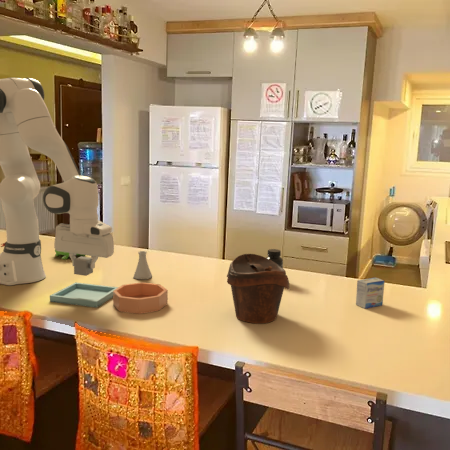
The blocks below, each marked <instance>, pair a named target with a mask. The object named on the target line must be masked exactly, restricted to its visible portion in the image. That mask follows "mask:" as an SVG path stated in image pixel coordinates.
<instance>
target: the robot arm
mask: <svg viewBox="0 0 450 450" xmlns="http://www.w3.org/2000/svg"><path fill="white" fill-rule="evenodd" d="M29 148H30V149H31V150H33V151H36V152H37V153H40V154H43V155H45V156H46V157H48V158H49V159H51V160H52V161H53V164H55V166H56V167H57V170H58V172H59V175H60V176H61V179H62V181H63V182H61V183H57V184H53V185H50V186H47V188H46V189H45V190H44V191H43V193H42V194H43V195H42V202H43V206H44V208H45V209H46V210H47V211H48V212H49V213H51V214H53V215H55V214H56V215H61V214H69V224H68V223H62V222H61V223H59V224H57V225H56V227H55V236H54V243H55V244H54V250H55V249H56V251H60V252H68V253H69V258H70V259H71V262H72V267H74V259H76V258H77V255H76V254H82V255H84V256H90V258H91V259H93V260H92V262H90V263H88V268H90V269H93V270H94V269H95V267H96V262H97V260H98V259H99V258H104V259H107V258H110V257H112V256H113V255H114V253H115V247H114V246H115V242H114V236H113V234H111V233H112V232H113V227H112V226H111V225H109V224H108V223H105V222H103V221H101V220H99V215H98V207H99V189H98V183H97V181H96V180H95V179H94V178H93V177H90V176H88V175H87V176H86V175H82V174H81V173H80V170H79V168H78V165H77V163H76V162H75V159H74V157H73V155H72V153H71V151H70V149H69V147H68V145H67V144H66V142H65V141H64V140H63V138H62V137H61V135H60V134H59V132H58V130H57V127H56V126H55V123H54V121H53V119H52V116H51V114H50V112H49V108H48V107H47V104H46V103H45V91H44V88H43V86H42V84H41V82H39V80H37V79H35V78H32V77H31V78H30V77H24V78H23V77H7V78H0V168H1V170H2V172H3V173H2V174H3V175H4V178H2V180H1V182H0V204H1V208H2V212H3V216H4V220H5V231H6V241H5V242H2V243H0V247H1V248H3V250H2V251H1V253H0V284H1V285H4V286H5V285H6V286H14V285H21V284H29V283H35V282H39V281H41V280H44V279H45V278H46V277H47V275H46V273H45V270H44V266H43V260H42V255H41V254H42V241H41V239H40V225H39V217H38V216H37V215H38V214H37V212H36V211H37V210H36V206H35V199H36V198H37V197H38V195H39V193H40V192H41V182H40V180H39V178H38V177H39V176H38V174H37V171H36V169H35V166H34V165H35V164H34V163H33V161H32V157H31V155H30V152H29ZM82 255H81V256H82Z"/></svg>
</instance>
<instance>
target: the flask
mask: <svg viewBox="0 0 450 450" xmlns="http://www.w3.org/2000/svg"><path fill="white" fill-rule="evenodd" d="M146 255H147V251H146V250H140V251H138V262H137V265H136V268H135V271H134V274H133V277H132V278H133V279H135V280H149V279H151V278H152V277H153V274H152V272H151V269H150V265H149V264H148V260H147V256H146Z"/></svg>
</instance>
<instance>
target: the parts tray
mask: <svg viewBox="0 0 450 450" xmlns="http://www.w3.org/2000/svg"><path fill="white" fill-rule="evenodd" d="M118 287H119V286H109V285H101V284H91V283H85V282H83V283H82V282H73V283H72V284H70V285H67V286H66V287H64V288H61V289H60V290H58V291H56V292H54V293H52V294H50V295H49V302H50V303H57V304H59V303H60V304H66V305H74V306H82V307H89V308H99V307H100V306H102V305H104V304H105V303H106V302H108V301H110V300H111V299H113V291H114V290H115V289H117V288H118Z"/></svg>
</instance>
